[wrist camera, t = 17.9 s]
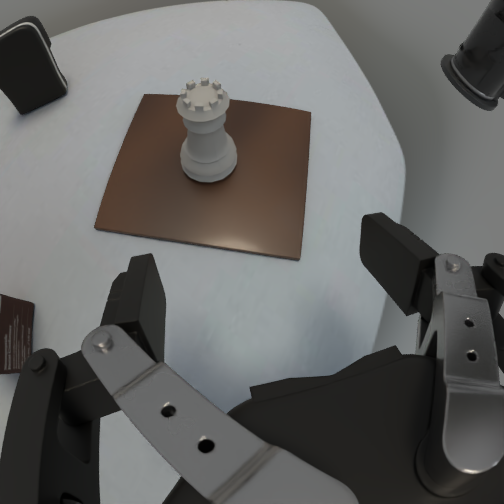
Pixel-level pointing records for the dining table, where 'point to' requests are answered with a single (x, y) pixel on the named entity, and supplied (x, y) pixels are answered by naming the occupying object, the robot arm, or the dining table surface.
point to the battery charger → (29, 66)
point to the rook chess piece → (206, 132)
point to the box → (14, 333)
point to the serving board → (213, 193)
